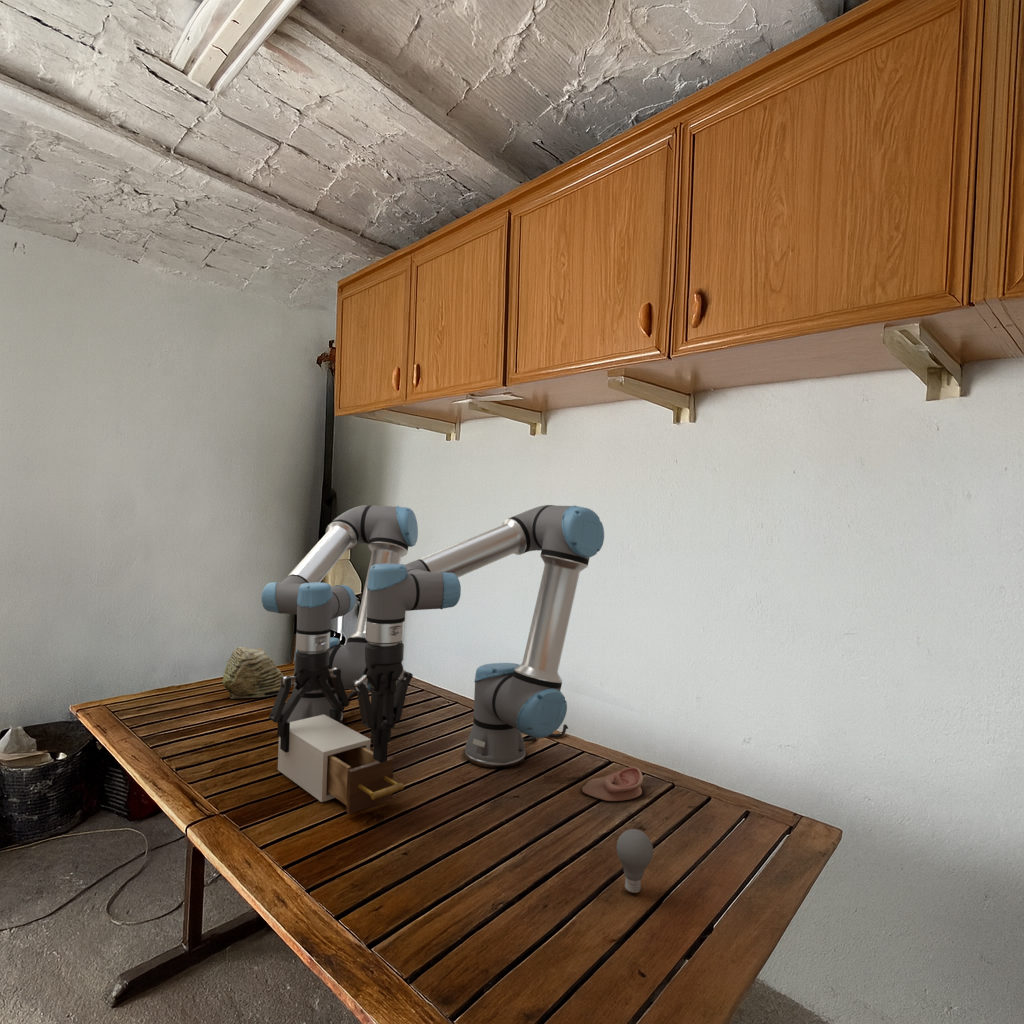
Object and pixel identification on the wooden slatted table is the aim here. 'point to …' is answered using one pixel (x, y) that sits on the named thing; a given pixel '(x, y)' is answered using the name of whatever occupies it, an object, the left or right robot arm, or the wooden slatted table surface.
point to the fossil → (251, 674)
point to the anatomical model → (616, 785)
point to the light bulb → (634, 857)
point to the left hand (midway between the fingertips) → (309, 744)
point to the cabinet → (316, 752)
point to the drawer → (360, 779)
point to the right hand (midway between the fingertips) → (380, 759)
